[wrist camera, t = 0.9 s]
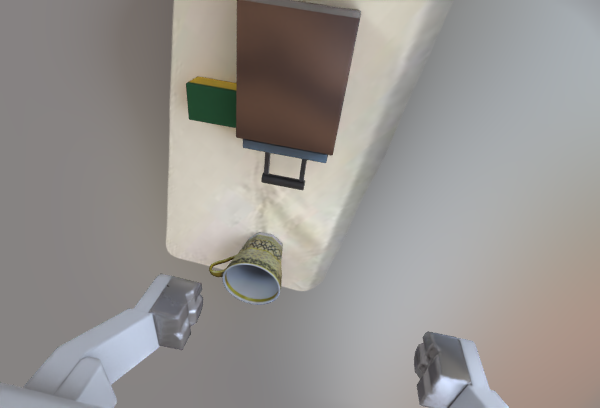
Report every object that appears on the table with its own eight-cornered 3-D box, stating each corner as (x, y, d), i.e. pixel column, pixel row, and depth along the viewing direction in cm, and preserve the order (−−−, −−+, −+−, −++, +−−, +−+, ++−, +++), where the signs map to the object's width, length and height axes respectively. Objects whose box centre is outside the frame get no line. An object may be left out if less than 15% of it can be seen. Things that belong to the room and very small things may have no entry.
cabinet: (337, 127, 47) (332, 155, 39) (256, 113, 47) (235, 137, 40) (361, 10, 38) (359, 18, 31) (261, -5, 39) (236, -1, 32)
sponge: (197, 76, 46) (185, 83, 43) (248, 85, 45) (240, 92, 42) (199, 110, 49) (188, 119, 46) (247, 119, 48) (239, 128, 45)
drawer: (324, 174, 50) (319, 200, 44) (256, 161, 51) (241, 184, 45) (350, 37, 39) (348, 47, 33) (262, 23, 40) (244, 30, 34)
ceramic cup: (293, 230, 59) (282, 270, 51) (289, 268, 65) (278, 310, 57) (224, 217, 60) (203, 254, 52) (226, 256, 66) (206, 295, 58)
